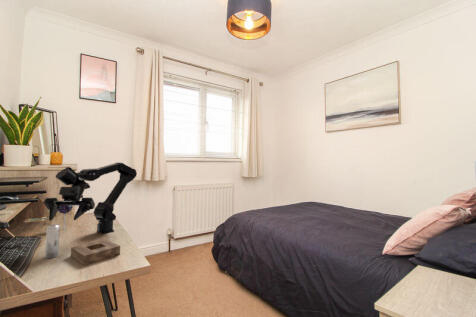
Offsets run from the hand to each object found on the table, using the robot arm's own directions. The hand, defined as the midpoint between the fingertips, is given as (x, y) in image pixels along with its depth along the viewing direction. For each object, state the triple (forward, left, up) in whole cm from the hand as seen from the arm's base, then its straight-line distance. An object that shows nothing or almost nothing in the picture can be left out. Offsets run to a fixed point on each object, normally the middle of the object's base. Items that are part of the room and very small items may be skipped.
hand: (62, 220), depth 97 cm
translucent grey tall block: (+4, +5, -13) cm, 14 cm away
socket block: (-7, +17, -13) cm, 22 cm away
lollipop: (-12, -35, -13) cm, 39 cm away
